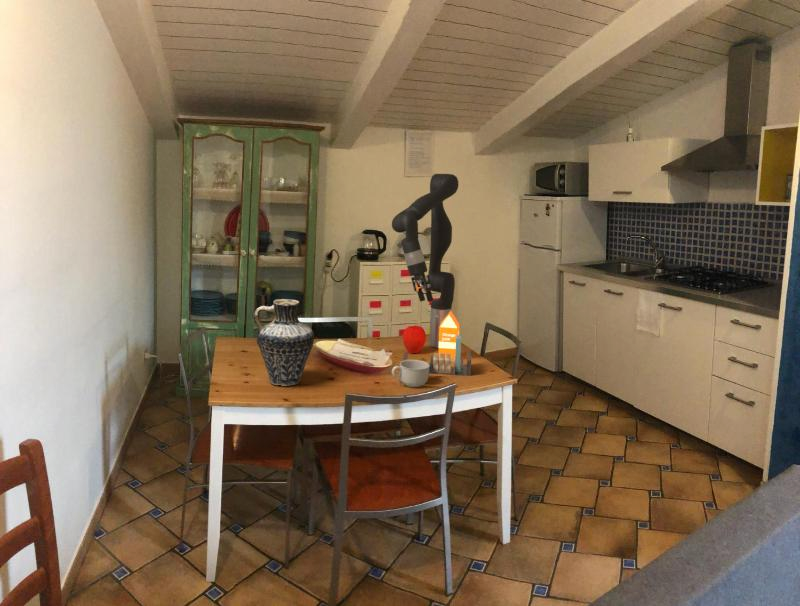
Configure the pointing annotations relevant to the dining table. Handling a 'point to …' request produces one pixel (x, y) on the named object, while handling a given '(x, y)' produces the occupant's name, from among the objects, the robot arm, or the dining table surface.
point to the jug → (284, 342)
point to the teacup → (412, 372)
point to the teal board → (457, 353)
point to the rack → (464, 369)
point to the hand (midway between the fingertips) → (426, 301)
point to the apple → (414, 338)
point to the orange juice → (448, 335)
